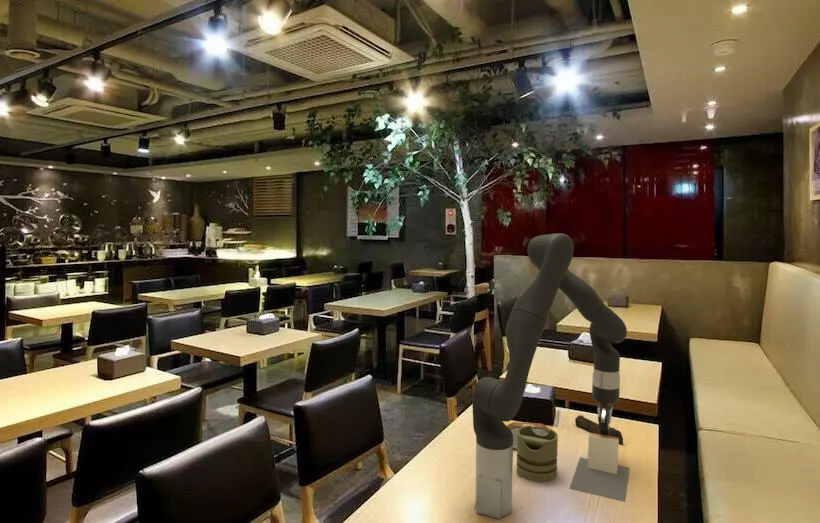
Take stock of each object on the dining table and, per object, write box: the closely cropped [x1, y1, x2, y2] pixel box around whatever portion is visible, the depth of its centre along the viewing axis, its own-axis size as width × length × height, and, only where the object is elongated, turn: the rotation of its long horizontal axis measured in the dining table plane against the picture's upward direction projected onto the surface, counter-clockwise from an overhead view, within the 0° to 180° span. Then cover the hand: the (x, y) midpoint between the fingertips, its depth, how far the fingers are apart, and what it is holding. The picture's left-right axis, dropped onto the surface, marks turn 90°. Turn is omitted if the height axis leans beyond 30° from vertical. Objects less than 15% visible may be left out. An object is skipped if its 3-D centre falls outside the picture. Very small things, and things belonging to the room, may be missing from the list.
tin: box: [506, 421, 550, 451], centre depth 158 cm, size 15×3×8 cm, turn 84°
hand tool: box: [574, 414, 624, 446], centre depth 168 cm, size 19×4×5 cm, turn 25°
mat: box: [569, 456, 631, 503], centre depth 140 cm, size 20×14×1 cm
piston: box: [516, 425, 559, 483], centre depth 143 cm, size 11×12×11 cm
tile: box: [587, 432, 620, 474], centre depth 144 cm, size 2×8×10 cm, turn 63°
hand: (603, 440), depth 147 cm, fingers closed
